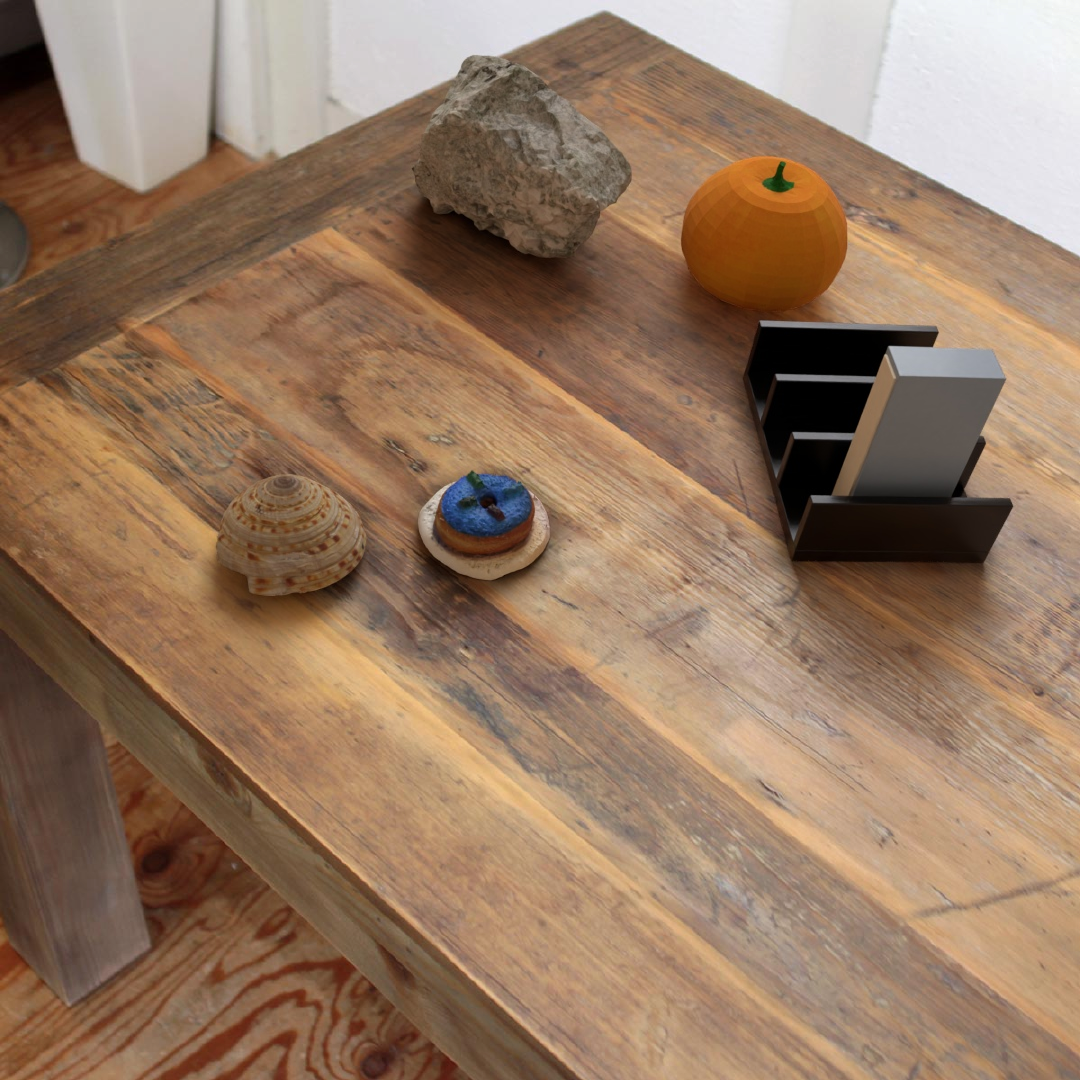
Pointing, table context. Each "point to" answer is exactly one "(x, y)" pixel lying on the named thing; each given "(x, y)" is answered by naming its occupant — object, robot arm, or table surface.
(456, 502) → the dessert
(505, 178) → the stone
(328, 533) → the seashell
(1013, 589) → the table surface
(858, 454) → the grey rectangular block
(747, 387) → the rack
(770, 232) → the fruit
